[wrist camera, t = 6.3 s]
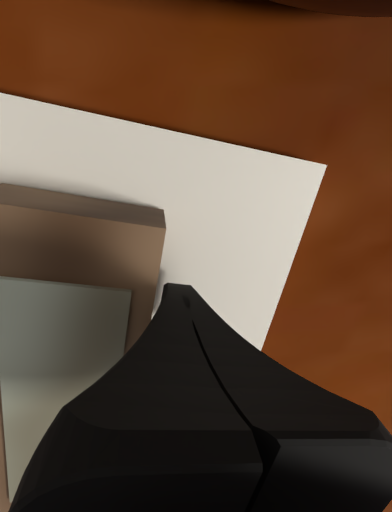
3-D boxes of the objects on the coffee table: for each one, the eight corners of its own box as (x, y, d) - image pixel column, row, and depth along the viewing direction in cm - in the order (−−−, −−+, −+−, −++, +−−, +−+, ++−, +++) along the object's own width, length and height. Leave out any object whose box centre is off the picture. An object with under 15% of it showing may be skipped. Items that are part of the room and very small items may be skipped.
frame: (163, 209, 10) (167, 233, 7) (120, 482, 15) (113, 547, 13) (2, 183, 9) (-56, 200, 6) (19, 486, 14) (-9, 556, 12)
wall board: (312, 162, 11) (328, 165, 10) (205, 479, 18) (208, 499, 17) (-203, 48, 8) (-256, 35, 7) (-82, 489, 15) (-100, 515, 14)
